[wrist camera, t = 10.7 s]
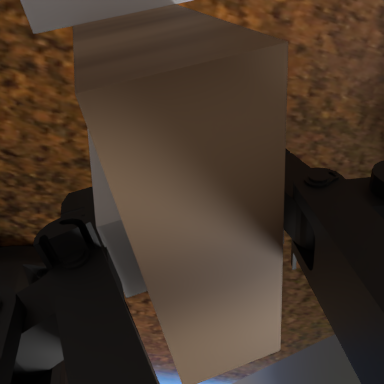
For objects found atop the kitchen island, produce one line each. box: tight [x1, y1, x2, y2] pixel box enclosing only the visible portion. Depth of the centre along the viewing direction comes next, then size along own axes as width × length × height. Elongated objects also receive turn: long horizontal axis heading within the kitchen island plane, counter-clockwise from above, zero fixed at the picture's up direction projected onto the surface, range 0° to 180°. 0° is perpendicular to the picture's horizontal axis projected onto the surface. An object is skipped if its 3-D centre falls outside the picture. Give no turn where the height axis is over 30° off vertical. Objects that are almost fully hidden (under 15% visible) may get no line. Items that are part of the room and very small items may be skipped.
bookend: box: [20, 0, 288, 384], centre depth 9 cm, size 17×6×8 cm, turn 9°
